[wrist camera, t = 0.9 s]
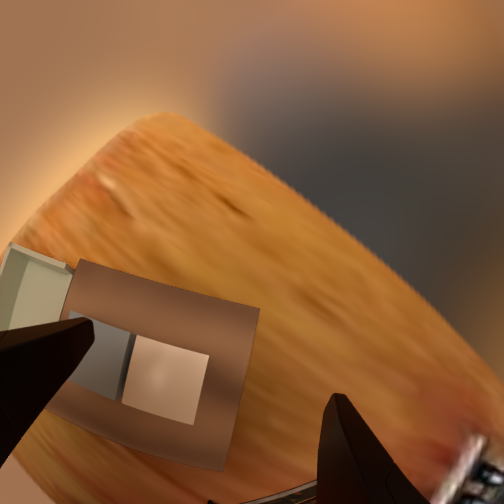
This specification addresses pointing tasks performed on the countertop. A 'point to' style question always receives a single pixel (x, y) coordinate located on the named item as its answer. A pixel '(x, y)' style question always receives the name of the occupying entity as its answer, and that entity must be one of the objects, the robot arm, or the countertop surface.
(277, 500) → the knife
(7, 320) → the tray
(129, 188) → the countertop surface
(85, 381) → the grey block
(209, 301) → the board
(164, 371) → the cream block
